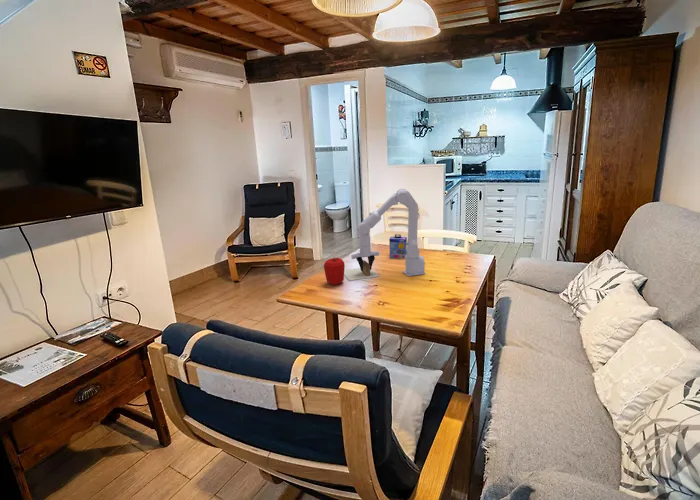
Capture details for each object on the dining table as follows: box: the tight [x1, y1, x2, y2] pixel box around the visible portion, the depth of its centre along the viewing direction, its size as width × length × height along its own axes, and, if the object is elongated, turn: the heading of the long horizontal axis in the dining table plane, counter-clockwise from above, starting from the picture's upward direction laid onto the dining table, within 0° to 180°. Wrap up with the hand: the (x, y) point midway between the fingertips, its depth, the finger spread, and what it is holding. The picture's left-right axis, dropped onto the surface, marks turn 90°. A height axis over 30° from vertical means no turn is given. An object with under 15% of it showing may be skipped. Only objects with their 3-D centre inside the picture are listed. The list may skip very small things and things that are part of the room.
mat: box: [344, 267, 380, 282], centre depth 204 cm, size 16×16×1 cm
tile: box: [362, 259, 370, 276], centre depth 202 cm, size 2×8×6 cm, turn 15°
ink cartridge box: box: [388, 234, 408, 260], centre depth 227 cm, size 10×6×14 cm, turn 74°
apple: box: [323, 257, 345, 286], centre depth 191 cm, size 11×10×14 cm
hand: (365, 270), depth 202 cm, fingers open, 4 cm apart
